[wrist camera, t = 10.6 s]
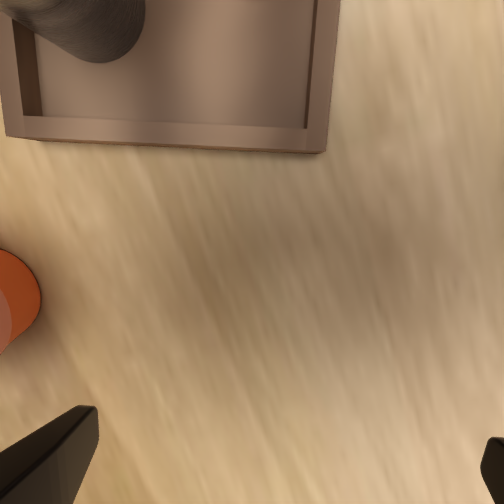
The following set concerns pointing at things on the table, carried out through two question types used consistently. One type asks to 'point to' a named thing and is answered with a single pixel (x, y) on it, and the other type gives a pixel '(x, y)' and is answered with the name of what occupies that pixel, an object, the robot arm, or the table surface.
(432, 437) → the table surface
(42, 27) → the shaker
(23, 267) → the cup with straw
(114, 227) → the table surface
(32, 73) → the tray
